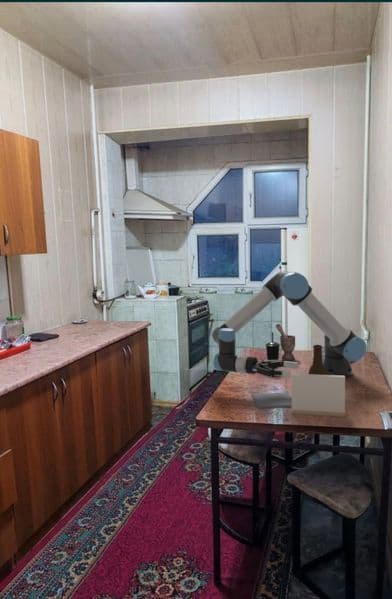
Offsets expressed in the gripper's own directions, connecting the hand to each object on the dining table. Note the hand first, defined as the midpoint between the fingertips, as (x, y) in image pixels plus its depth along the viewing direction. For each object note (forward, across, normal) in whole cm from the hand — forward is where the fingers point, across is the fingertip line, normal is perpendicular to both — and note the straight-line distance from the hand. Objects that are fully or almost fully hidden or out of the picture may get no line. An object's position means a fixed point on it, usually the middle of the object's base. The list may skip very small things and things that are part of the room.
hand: (294, 369), depth 194 cm
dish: (+2, -76, -13) cm, 77 cm away
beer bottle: (+10, 0, -13) cm, 16 cm away
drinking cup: (-22, -42, -13) cm, 49 cm away
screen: (+13, +13, -13) cm, 22 cm away
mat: (-7, +6, -13) cm, 16 cm away
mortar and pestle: (-23, -68, -13) cm, 73 cm away
